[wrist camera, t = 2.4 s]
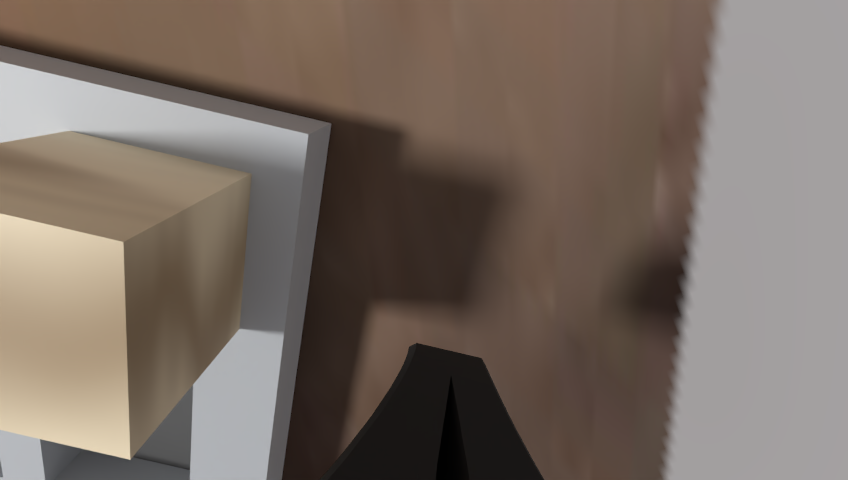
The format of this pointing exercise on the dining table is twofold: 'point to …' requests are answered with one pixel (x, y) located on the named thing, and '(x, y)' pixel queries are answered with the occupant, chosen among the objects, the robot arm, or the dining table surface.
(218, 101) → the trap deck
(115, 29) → the dining table surface
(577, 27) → the dining table surface
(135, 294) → the maple block
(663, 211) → the dining table surface
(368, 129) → the dining table surface
